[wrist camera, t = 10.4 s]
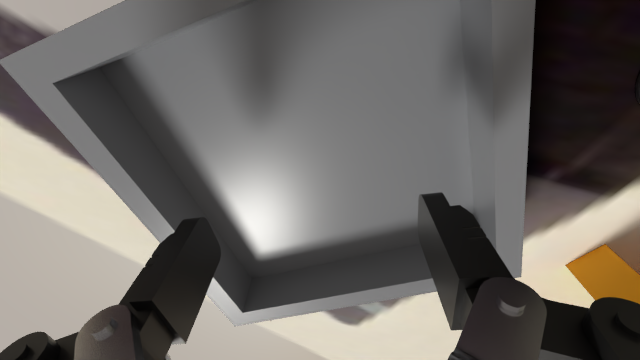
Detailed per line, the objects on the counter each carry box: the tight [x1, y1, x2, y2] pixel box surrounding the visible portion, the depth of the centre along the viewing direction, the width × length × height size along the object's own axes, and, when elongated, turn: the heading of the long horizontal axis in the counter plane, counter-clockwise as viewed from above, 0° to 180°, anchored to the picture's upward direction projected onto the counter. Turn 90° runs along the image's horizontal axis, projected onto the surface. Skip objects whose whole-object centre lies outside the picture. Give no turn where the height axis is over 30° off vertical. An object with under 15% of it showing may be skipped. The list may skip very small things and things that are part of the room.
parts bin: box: [0, 0, 535, 326], centre depth 14 cm, size 17×17×4 cm
